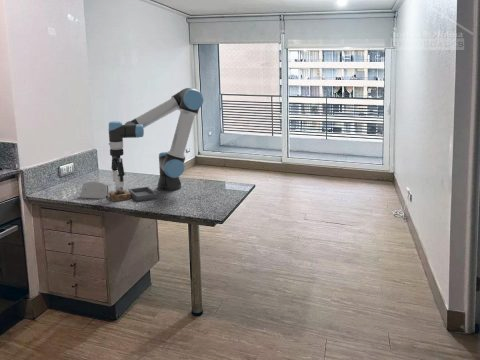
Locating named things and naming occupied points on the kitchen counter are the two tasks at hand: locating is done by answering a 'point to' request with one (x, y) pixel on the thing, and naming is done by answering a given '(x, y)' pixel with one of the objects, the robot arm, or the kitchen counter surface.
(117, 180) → the pin
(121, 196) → the holder
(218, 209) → the kitchen counter surface
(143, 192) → the tray
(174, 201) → the kitchen counter surface
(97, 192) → the grey upright slab
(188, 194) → the kitchen counter surface
